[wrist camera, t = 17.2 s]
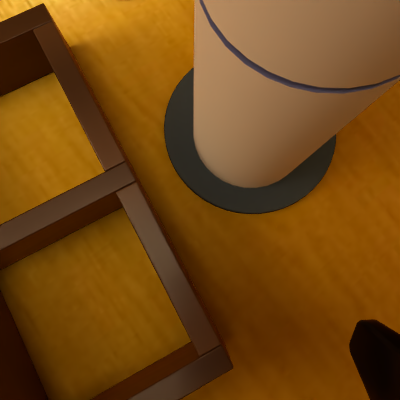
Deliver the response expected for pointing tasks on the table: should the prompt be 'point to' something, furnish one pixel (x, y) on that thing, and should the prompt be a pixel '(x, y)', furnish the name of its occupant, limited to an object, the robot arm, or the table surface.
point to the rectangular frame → (89, 212)
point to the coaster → (222, 191)
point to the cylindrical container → (285, 79)
